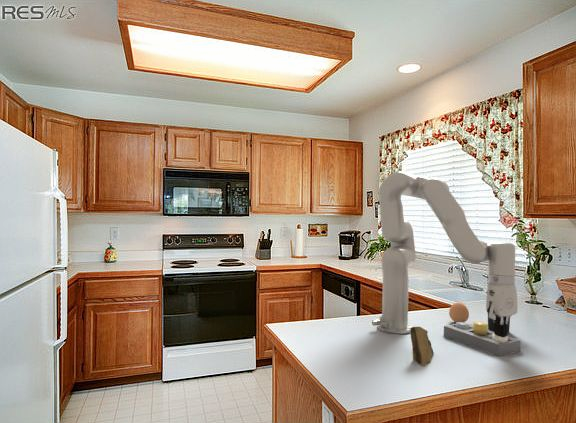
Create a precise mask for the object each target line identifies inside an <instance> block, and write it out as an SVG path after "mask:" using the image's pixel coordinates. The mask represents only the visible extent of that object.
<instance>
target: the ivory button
mask: <svg viewBox="0 0 576 423" xmlns="http://www.w3.org/2000/svg"><path fill="white" fill-rule="evenodd" d="M508 336H509V335H507V336H506V337H500V336H497V335H495V334H492V339H493V340H496V341H499V342H502V343H504V342H508Z"/></svg>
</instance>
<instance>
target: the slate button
mask: <svg viewBox="0 0 576 423" xmlns="http://www.w3.org/2000/svg"><path fill="white" fill-rule="evenodd" d="M455 324H456V327H457V328H460V329H463V330H467V329H469V324H470V323H467V322H455Z"/></svg>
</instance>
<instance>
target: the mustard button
mask: <svg viewBox="0 0 576 423" xmlns="http://www.w3.org/2000/svg"><path fill="white" fill-rule="evenodd" d="M472 325H473V332H474V333H475V334H479V335H487V334H488V323H486V322H482V321H474V322H473V324H472Z"/></svg>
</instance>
